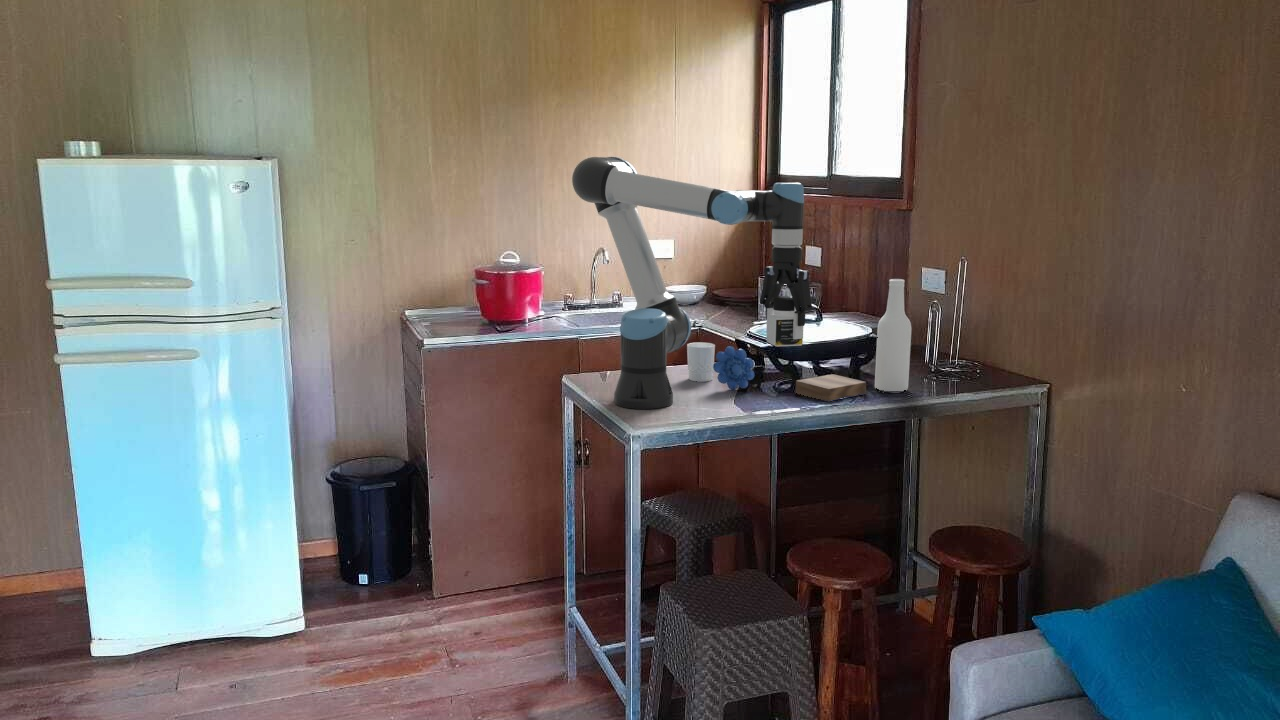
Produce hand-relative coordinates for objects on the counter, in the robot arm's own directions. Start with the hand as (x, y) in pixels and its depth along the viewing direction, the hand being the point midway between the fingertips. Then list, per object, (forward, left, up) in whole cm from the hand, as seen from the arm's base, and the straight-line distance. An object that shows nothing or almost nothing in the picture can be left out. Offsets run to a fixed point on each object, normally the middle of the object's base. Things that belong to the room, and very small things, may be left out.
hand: (784, 335), depth 239 cm
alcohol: (+34, -6, -18) cm, 39 cm away
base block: (+17, 0, -17) cm, 25 cm away
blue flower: (-1, +18, -18) cm, 25 cm away
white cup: (0, +34, -18) cm, 38 cm away
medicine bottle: (0, 0, -2) cm, 2 cm away
